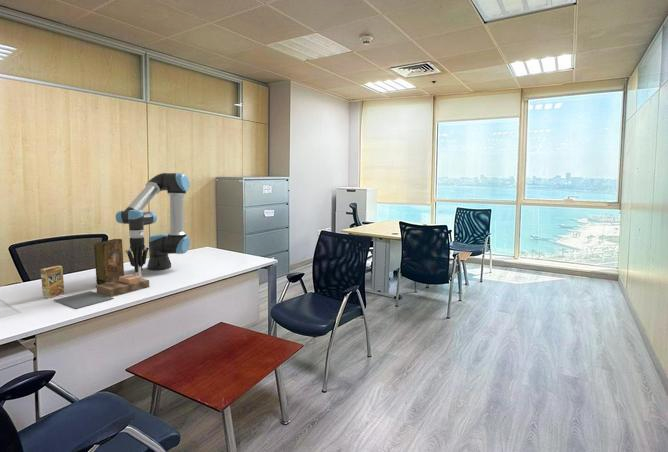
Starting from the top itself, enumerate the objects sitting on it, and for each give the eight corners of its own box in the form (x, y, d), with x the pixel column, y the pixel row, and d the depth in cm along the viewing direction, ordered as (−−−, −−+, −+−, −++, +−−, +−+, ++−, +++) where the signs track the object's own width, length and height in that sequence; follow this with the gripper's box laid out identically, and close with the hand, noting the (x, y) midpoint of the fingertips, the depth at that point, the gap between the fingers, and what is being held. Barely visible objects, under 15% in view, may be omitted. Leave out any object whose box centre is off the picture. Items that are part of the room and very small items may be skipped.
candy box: (47, 298, 201) (45, 269, 199) (42, 297, 203) (39, 268, 200) (65, 293, 209) (62, 266, 207) (59, 292, 211) (57, 265, 209)
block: (130, 278, 226) (130, 274, 226) (141, 281, 221) (141, 276, 221) (119, 281, 220) (118, 276, 220) (129, 284, 215) (129, 279, 215)
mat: (90, 291, 213) (90, 290, 213) (113, 299, 202) (113, 298, 202) (53, 300, 198) (53, 299, 198) (76, 309, 187) (76, 308, 187)
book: (118, 278, 239) (115, 238, 236) (125, 279, 238) (123, 239, 235) (96, 286, 224) (93, 243, 220) (105, 286, 222) (102, 243, 219)
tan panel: (135, 283, 231) (134, 276, 230) (149, 287, 224) (149, 280, 223) (96, 292, 212) (96, 285, 212) (111, 297, 205) (110, 289, 204)
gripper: (129, 239, 214) (132, 280, 217) (151, 236, 225) (153, 275, 229) (121, 237, 218) (124, 278, 221) (143, 235, 229) (145, 274, 232)
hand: (138, 277), depth 225 cm, fingers closed
